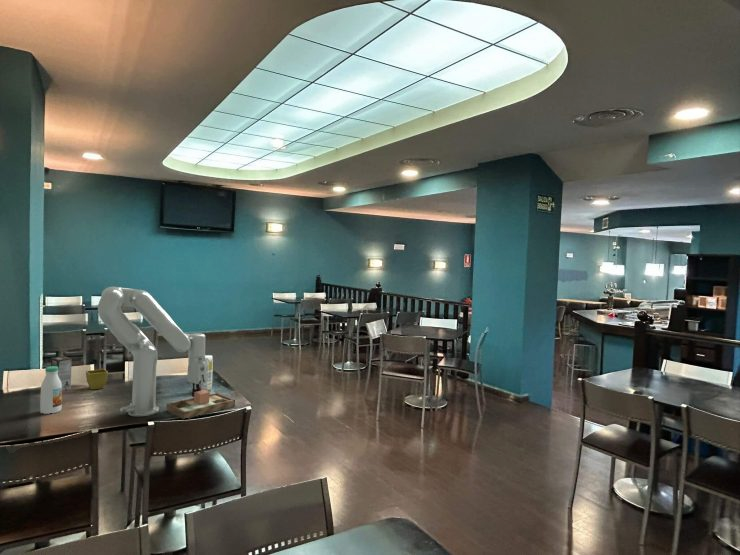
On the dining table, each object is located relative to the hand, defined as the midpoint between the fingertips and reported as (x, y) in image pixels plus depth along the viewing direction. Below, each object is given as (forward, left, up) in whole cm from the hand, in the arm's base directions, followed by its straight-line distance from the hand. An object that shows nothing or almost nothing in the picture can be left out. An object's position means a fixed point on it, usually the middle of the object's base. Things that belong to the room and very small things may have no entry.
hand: (196, 396), depth 213 cm
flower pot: (-22, +60, -5) cm, 64 cm away
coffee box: (-35, +71, -5) cm, 80 cm away
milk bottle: (-49, +35, -5) cm, 61 cm away
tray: (0, -6, -4) cm, 7 cm away
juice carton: (+15, +19, -5) cm, 25 cm away
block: (0, -5, -2) cm, 5 cm away
